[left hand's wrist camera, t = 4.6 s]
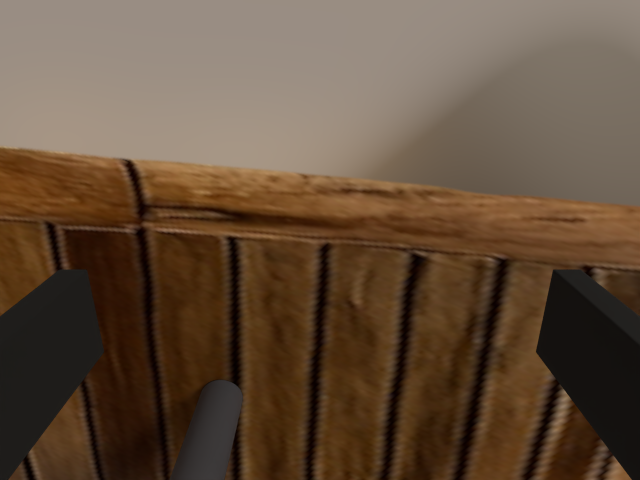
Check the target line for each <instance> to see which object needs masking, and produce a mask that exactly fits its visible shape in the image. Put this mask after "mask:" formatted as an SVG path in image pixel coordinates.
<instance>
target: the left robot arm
mask: <svg viewBox="0 0 640 480" xmlns="http://www.w3.org/2000/svg"><path fill="white" fill-rule="evenodd" d="M103 353H104V349H103V345H102V340H101V335H100V330H99V326H98V321H97V316H96V311H95V306H94V302H93V297H92V292H91V287H90V283H89V278H88V273H87V270H59V271H57V272H56V273H55V274H53V275H52V276H51V277H50V278H48V279H47V280H46V281H45V282H43V283H42V284H41V285H39V286H38V287H37V288H36V289H34V290H33V291H32V292H31V293H29V294H28V295H27V296H26V297H24V298H23V299H22V300H20V301H19V302H18V303H17V304H15V305H14V306H13V307H12V308H10V309H9V310H8V311H7V312H5V313H4V314H3V315H1V316H0V480H8V479H9V478H10V477H11V475H12V474H13V473H14V471H15V470H16V469H17V467H18V466H19V465H20V463H21V462H22V461H23V459H24V458H25V457H26V455H27V454H28V453H29V451H30V450H31V449H32V447H33V446H34V445H35V443H36V442H37V441H38V439H39V438H40V437H41V435H42V434H43V433H44V431H45V430H46V429H47V427H48V426H49V425H50V423H51V422H52V421H53V419H54V418H55V417H56V415H57V414H58V413H59V411H60V410H61V409H62V407H63V406H64V405H65V403H66V402H67V401H68V399H69V398H70V397H71V395H72V394H73V393H74V391H75V390H76V389H77V387H78V386H79V385H80V383H81V382H82V381H83V379H84V378H85V377H86V375H87V374H88V373H89V371H90V370H91V369H92V367H93V366H94V365H95V363H96V362H97V361H98V359H99V358H100V357H101V355H102V354H103ZM536 353H537V354H538V355H539V357H540V358H541V359H542V361H543V362H544V363H545V365H546V366H547V367H548V369H549V370H550V371H551V373H552V374H553V375H554V377H555V378H556V379H557V381H558V382H559V383H560V385H561V386H562V387H563V389H564V390H565V391H566V393H567V394H568V395H569V397H570V398H571V399H572V401H573V402H574V403H575V405H576V406H577V407H578V409H579V410H580V411H581V413H582V414H583V415H584V417H585V418H586V419H587V421H588V422H589V423H590V425H591V426H592V427H593V429H594V430H595V431H596V433H597V434H598V435H599V437H600V438H601V439H602V441H603V442H604V443H605V445H606V446H607V447H608V449H609V450H610V451H611V453H612V454H613V455H614V457H615V458H616V459H617V461H618V462H619V463H620V465H621V466H622V467H623V469H624V470H625V471H626V473H627V474H628V475H629V477H630V478H631V479H632V480H640V316H639V315H637V314H636V313H635V312H633V311H632V310H631V309H630V308H628V307H627V306H626V305H625V304H623V303H622V302H621V301H620V300H618V299H617V298H616V297H614V296H613V295H612V294H611V293H609V292H608V291H607V290H606V289H604V288H603V287H602V286H601V285H599V284H598V283H597V282H595V281H594V280H593V279H592V278H590V277H589V276H588V275H587V274H585V273H584V272H583V271H581V270H553V273H552V278H551V283H550V287H549V292H548V297H547V302H546V306H545V311H544V316H543V321H542V326H541V330H540V335H539V340H538V345H537V349H536Z"/></svg>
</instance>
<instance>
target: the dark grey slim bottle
mask: <svg viewBox="0 0 640 480" xmlns="http://www.w3.org/2000/svg"><path fill="white" fill-rule="evenodd" d="M242 401H243V395H242V392H241V390H240V389H239V388H238V387H237V386H236V385H235V384H233V383H232V382H229V381H226V380H215V381H212V382H210V383H208V384H207V385H205V386H204V388H203V389H202V392H201V394H200V397H199V400H198V403H197V406H196V408H195V411H194V414H193V417H192V419H191V422H190V425H189V428H188V430H187V433H186V436H185V439H184V441H183V444H182V447H181V450H180V453H179V455H178V458H177V461H176V464H175V466H174V469H173V472H172V475H171V477H170V480H224V479H225V475H226V470H227V466H228V462H229V457H230V453H231V449H232V444H233V440H234V436H235V431H236V427H237V423H238V418H239V414H240V410H241V405H242Z"/></svg>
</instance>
